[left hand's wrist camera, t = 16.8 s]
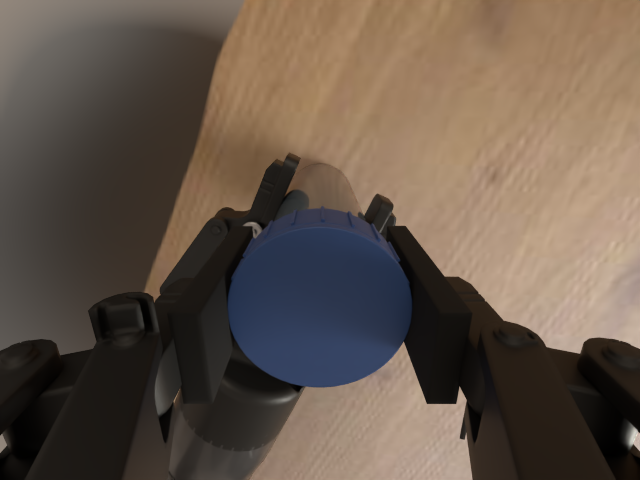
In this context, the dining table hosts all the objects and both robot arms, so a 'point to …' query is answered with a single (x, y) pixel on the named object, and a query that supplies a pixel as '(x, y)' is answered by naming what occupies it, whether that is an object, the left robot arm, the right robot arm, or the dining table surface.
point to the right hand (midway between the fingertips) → (339, 179)
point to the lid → (319, 299)
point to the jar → (319, 192)
